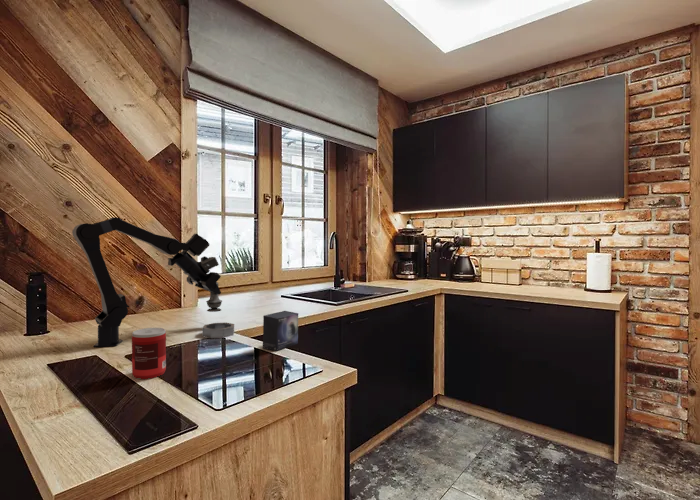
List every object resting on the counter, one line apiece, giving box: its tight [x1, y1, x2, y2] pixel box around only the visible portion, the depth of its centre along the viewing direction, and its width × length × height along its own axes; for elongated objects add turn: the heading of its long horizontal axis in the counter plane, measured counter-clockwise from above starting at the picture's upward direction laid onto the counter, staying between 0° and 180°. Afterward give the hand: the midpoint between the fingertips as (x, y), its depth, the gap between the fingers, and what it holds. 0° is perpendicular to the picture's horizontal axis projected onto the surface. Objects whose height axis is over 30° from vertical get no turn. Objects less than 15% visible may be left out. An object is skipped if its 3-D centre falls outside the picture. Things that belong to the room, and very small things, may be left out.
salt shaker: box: [205, 281, 223, 313], centre depth 147 cm, size 6×6×12 cm
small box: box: [262, 310, 299, 352], centre depth 123 cm, size 11×6×10 cm, turn 149°
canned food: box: [131, 327, 167, 380], centre depth 97 cm, size 8×8×11 cm
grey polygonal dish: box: [202, 322, 235, 339], centre depth 137 cm, size 10×10×3 cm
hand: (217, 293), depth 148 cm, fingers closed on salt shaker, 4 cm apart
